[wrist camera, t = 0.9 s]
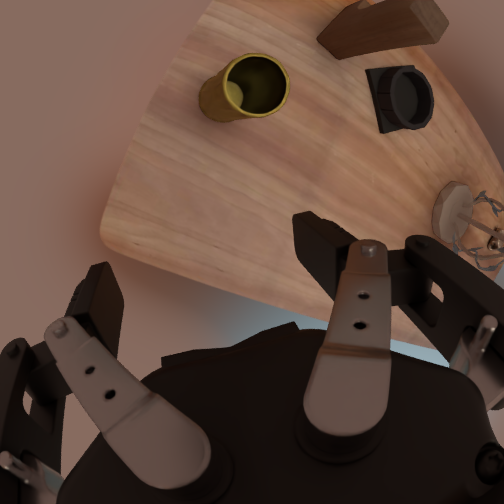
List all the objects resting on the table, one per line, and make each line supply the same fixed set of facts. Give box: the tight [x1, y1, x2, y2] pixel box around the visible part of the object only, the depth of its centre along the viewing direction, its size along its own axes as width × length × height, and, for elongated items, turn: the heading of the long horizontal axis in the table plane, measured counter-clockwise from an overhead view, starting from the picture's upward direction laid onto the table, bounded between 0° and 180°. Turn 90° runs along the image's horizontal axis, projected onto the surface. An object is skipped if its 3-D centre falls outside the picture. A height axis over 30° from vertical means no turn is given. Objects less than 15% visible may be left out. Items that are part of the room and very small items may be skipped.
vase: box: [199, 53, 290, 123], centre depth 25 cm, size 6×6×14 cm
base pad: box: [366, 65, 434, 134], centre depth 34 cm, size 10×10×4 cm
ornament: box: [488, 228, 504, 251], centre depth 57 cm, size 8×7×4 cm
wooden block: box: [317, 0, 449, 60], centre depth 22 cm, size 9×4×18 cm, turn 143°
